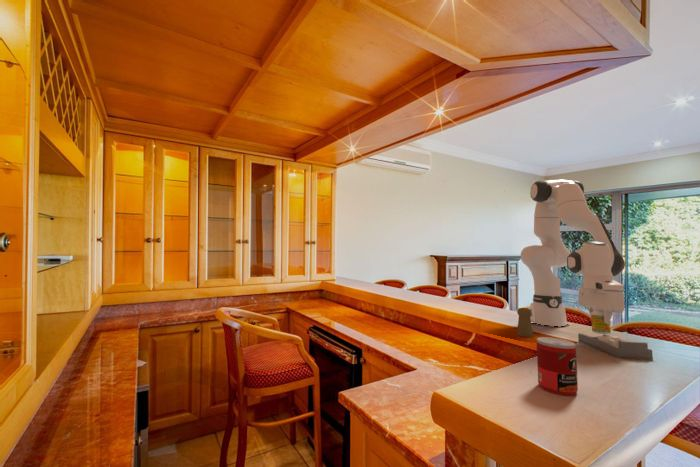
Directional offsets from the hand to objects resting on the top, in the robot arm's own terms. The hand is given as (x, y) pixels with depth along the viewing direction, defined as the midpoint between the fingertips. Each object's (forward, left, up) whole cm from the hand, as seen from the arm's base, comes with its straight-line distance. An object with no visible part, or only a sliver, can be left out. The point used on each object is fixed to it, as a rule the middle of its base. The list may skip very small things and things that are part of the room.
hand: (600, 321), depth 114 cm
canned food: (+47, -38, -9) cm, 61 cm away
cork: (-11, -22, -9) cm, 26 cm away
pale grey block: (+5, 0, -9) cm, 10 cm away
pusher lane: (+5, 0, -9) cm, 10 cm away
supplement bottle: (0, 0, -4) cm, 4 cm away
